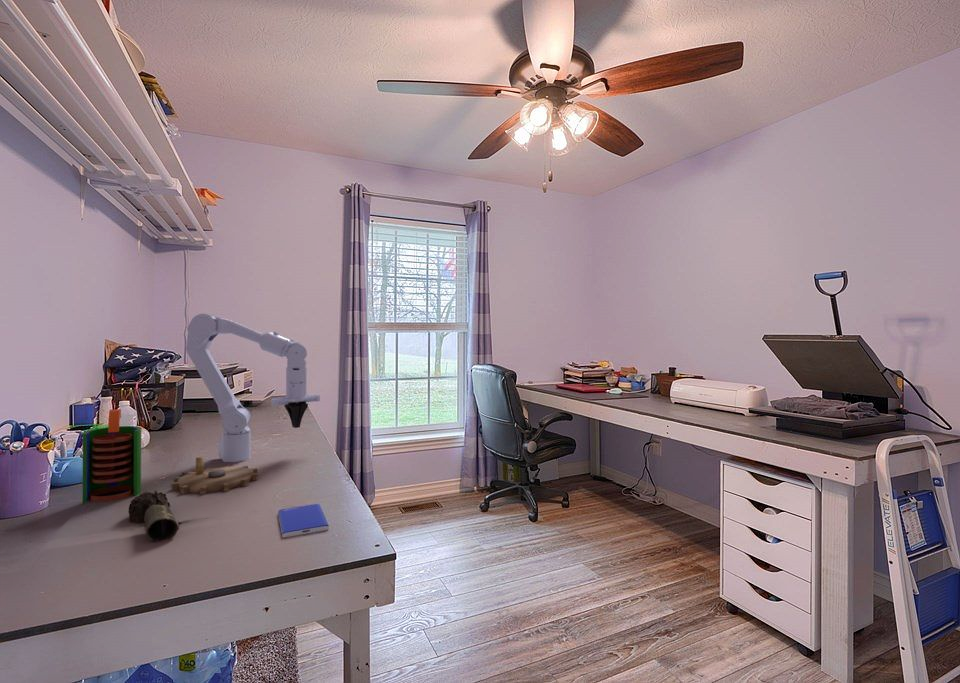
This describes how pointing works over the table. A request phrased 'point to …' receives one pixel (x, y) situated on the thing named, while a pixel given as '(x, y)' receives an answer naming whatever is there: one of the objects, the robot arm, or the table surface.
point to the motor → (111, 461)
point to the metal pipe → (153, 515)
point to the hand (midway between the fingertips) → (296, 427)
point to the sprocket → (214, 478)
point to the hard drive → (302, 520)
